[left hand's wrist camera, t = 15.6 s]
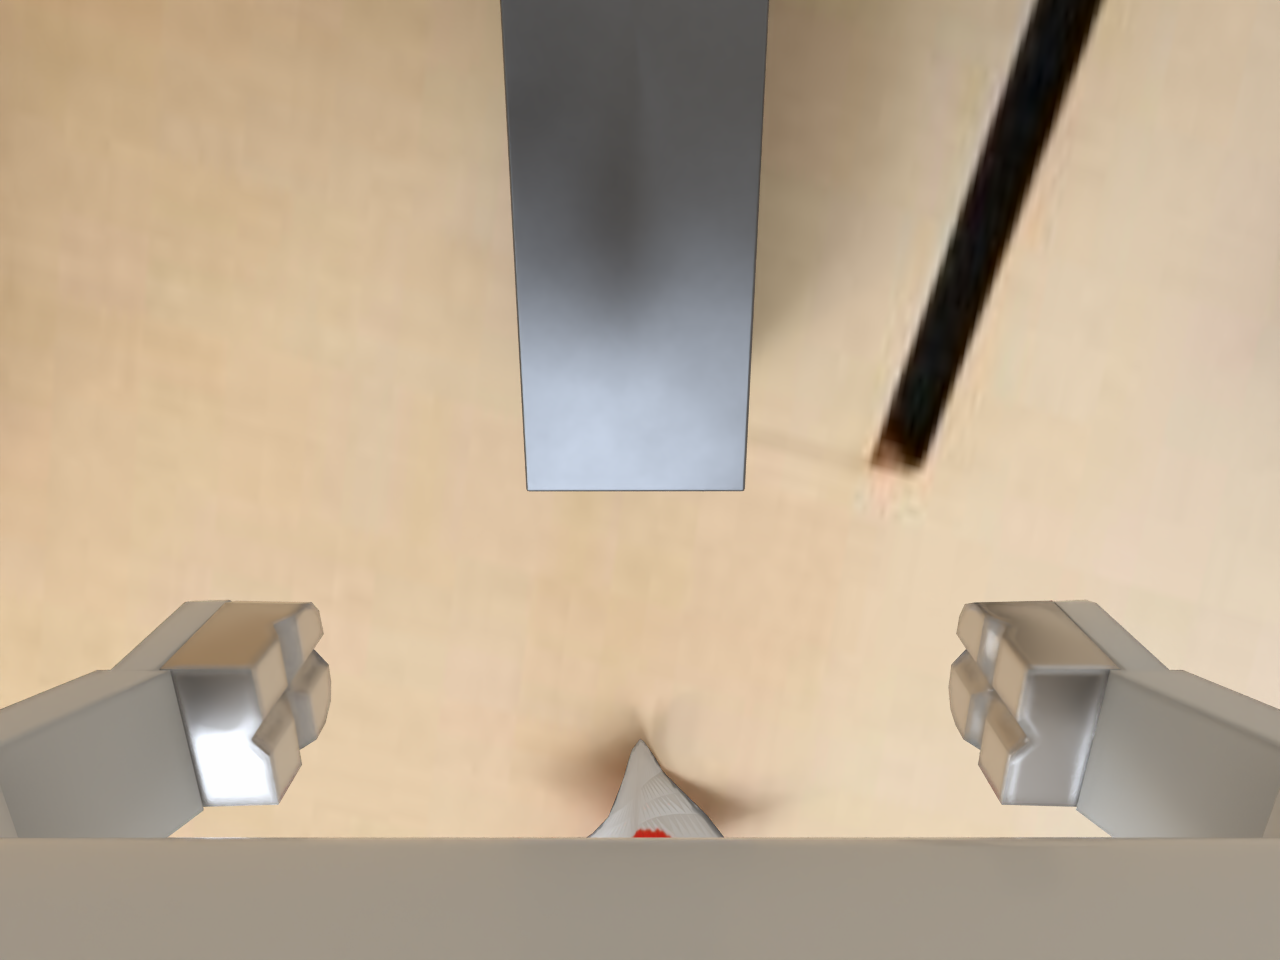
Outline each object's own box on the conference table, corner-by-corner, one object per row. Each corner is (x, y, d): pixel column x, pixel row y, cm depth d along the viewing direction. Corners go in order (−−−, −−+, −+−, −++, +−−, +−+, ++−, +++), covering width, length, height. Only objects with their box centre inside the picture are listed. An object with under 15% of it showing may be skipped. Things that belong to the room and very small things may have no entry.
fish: (453, 989, 42) (512, 1135, 33) (538, 697, 44) (617, 763, 35) (626, 989, 47) (719, 1117, 38) (697, 727, 48) (803, 791, 40)
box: (708, 386, 36) (744, 492, 24) (563, 386, 36) (526, 492, 24) (730, -311, 27) (804, -703, 15) (540, -311, 27) (462, -703, 15)
